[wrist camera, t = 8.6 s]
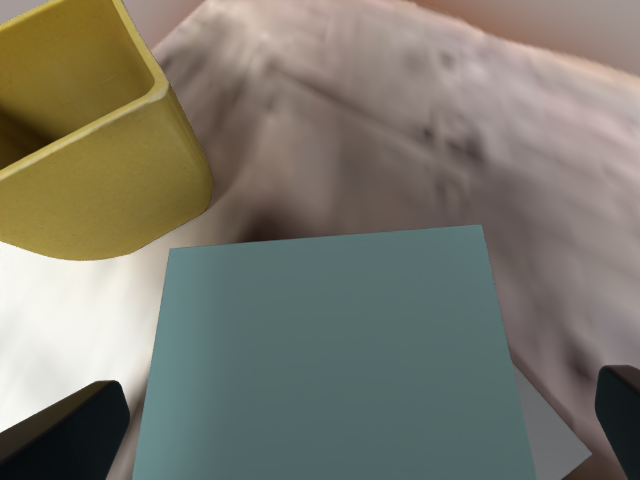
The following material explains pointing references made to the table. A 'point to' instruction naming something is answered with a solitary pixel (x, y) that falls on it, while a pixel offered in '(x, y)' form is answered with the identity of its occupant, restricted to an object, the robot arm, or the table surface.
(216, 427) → the block
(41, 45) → the flower pot
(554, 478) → the coaster
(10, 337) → the table surface
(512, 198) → the table surface
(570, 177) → the table surface
